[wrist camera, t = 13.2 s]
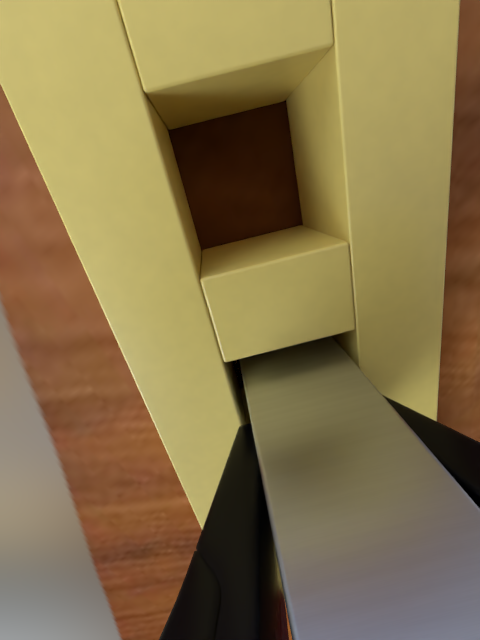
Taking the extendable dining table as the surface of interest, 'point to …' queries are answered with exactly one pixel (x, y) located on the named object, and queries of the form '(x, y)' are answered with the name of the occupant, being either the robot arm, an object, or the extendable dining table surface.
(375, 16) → the peg block
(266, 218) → the extendable dining table surface
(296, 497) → the metal peg
